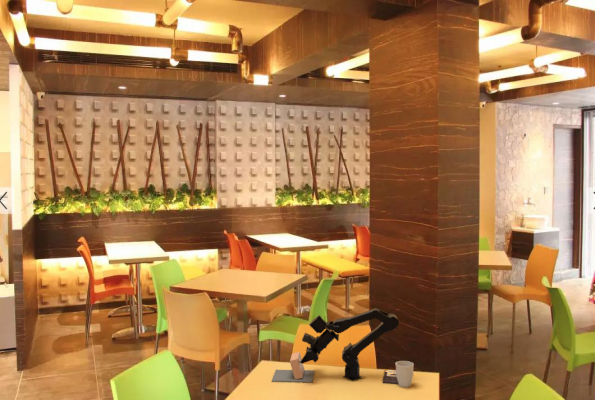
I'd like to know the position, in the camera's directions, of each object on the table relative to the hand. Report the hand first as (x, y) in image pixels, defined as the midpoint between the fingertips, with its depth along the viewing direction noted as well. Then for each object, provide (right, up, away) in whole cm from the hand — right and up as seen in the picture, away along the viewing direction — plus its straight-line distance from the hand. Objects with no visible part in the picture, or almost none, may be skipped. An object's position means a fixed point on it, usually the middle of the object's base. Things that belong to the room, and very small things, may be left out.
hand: (301, 362), depth 260 cm
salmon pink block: (-2, -1, 0) cm, 2 cm away
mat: (-4, -7, 0) cm, 8 cm away
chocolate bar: (+44, -7, -2) cm, 44 cm away
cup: (+47, -7, -13) cm, 49 cm away
